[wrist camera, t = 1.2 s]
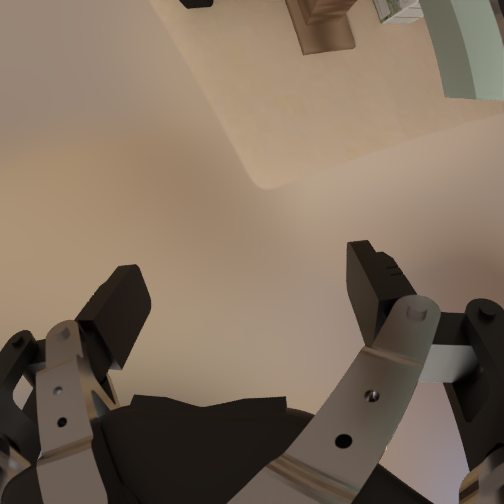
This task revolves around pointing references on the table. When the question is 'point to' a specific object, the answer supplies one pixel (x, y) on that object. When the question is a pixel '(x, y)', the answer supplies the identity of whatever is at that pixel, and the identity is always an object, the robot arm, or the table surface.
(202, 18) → the table surface
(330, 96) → the table surface
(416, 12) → the syrup box
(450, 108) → the table surface
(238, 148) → the table surface
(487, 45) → the peg
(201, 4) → the battery
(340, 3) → the stand
